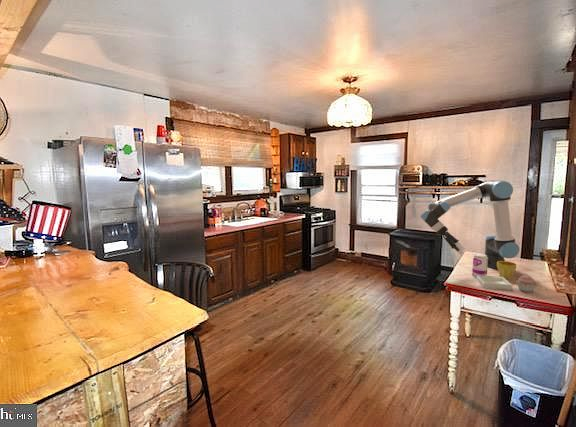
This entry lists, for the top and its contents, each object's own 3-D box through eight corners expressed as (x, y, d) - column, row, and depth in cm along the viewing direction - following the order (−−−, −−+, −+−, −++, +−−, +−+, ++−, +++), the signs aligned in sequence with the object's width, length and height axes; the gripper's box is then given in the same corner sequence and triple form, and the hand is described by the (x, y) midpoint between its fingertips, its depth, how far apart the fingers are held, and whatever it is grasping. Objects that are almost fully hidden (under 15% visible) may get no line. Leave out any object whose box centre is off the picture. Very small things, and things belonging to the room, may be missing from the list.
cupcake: (526, 287, 178) (527, 271, 177) (540, 293, 169) (541, 276, 167) (511, 287, 178) (512, 271, 176) (524, 293, 168) (525, 277, 167)
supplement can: (480, 279, 193) (481, 257, 191) (469, 275, 201) (470, 254, 199) (489, 277, 195) (491, 256, 193) (478, 274, 203) (479, 253, 201)
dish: (476, 279, 192) (476, 275, 192) (502, 281, 188) (503, 277, 187) (483, 287, 179) (483, 282, 178) (511, 289, 174) (512, 285, 174)
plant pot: (511, 281, 188) (512, 266, 187) (493, 276, 197) (494, 262, 196) (518, 277, 194) (519, 263, 193) (500, 273, 203) (501, 260, 201)
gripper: (437, 229, 220) (459, 251, 213) (433, 235, 199) (457, 259, 193) (446, 222, 216) (468, 244, 210) (442, 228, 196) (467, 252, 189)
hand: (463, 252), depth 201 cm, fingers open, 13 cm apart
